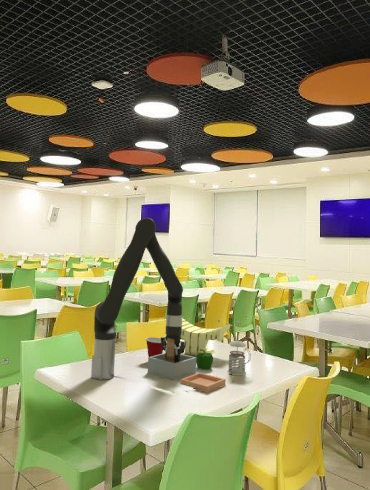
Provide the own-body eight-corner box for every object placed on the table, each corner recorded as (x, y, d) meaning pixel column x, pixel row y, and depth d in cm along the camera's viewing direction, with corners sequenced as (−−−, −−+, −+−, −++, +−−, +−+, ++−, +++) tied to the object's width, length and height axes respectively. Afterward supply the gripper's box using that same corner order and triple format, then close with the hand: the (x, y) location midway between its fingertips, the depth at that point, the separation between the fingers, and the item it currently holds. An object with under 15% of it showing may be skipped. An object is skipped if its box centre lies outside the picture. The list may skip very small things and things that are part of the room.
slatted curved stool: (169, 353, 231) (170, 321, 231) (181, 347, 245) (182, 318, 245) (219, 361, 218) (220, 327, 218) (228, 354, 232) (230, 323, 233)
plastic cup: (164, 365, 205) (165, 341, 205) (143, 364, 205) (144, 340, 205) (166, 359, 216) (167, 337, 216) (145, 359, 216) (146, 336, 216)
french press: (231, 368, 204) (233, 318, 205) (253, 372, 198) (255, 321, 199) (222, 373, 196) (224, 320, 196) (245, 377, 190) (247, 323, 190)
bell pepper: (215, 369, 202) (216, 349, 202) (208, 373, 195) (208, 352, 195) (200, 366, 206) (201, 346, 206) (192, 370, 199) (193, 349, 199)
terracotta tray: (207, 392, 167) (207, 386, 167) (180, 385, 175) (180, 379, 175) (225, 384, 178) (225, 379, 178) (199, 378, 186) (199, 372, 186)
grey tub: (174, 382, 178) (175, 364, 179) (147, 374, 188) (148, 357, 188) (195, 374, 191) (196, 357, 191) (169, 367, 201) (170, 351, 201)
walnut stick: (172, 374, 187) (174, 339, 187) (165, 372, 189) (167, 338, 190) (178, 372, 190) (179, 338, 190) (171, 370, 192) (172, 336, 193)
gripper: (157, 323, 191) (155, 359, 191) (181, 327, 183) (179, 365, 182) (167, 321, 197) (165, 356, 197) (191, 325, 189) (189, 362, 188)
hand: (172, 360), depth 190 cm, fingers open, 5 cm apart
